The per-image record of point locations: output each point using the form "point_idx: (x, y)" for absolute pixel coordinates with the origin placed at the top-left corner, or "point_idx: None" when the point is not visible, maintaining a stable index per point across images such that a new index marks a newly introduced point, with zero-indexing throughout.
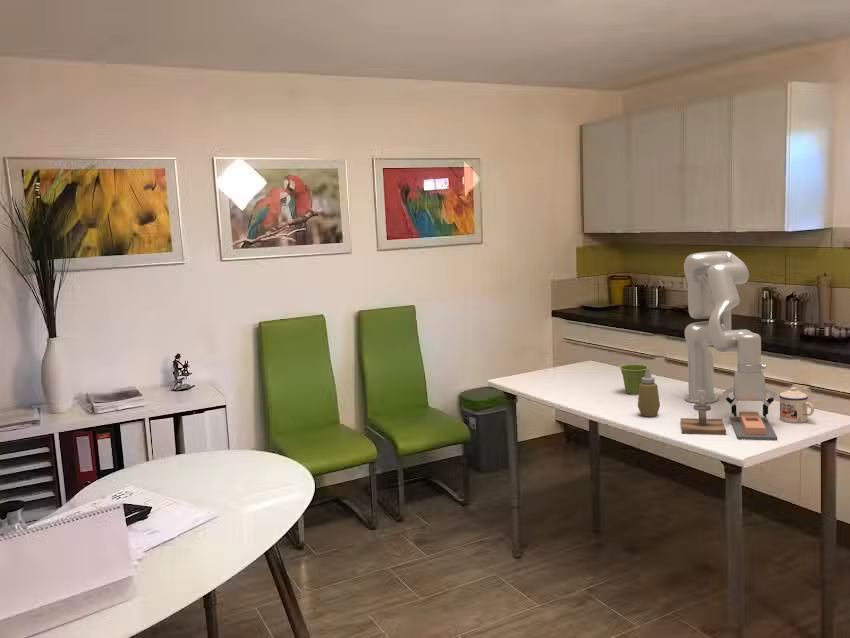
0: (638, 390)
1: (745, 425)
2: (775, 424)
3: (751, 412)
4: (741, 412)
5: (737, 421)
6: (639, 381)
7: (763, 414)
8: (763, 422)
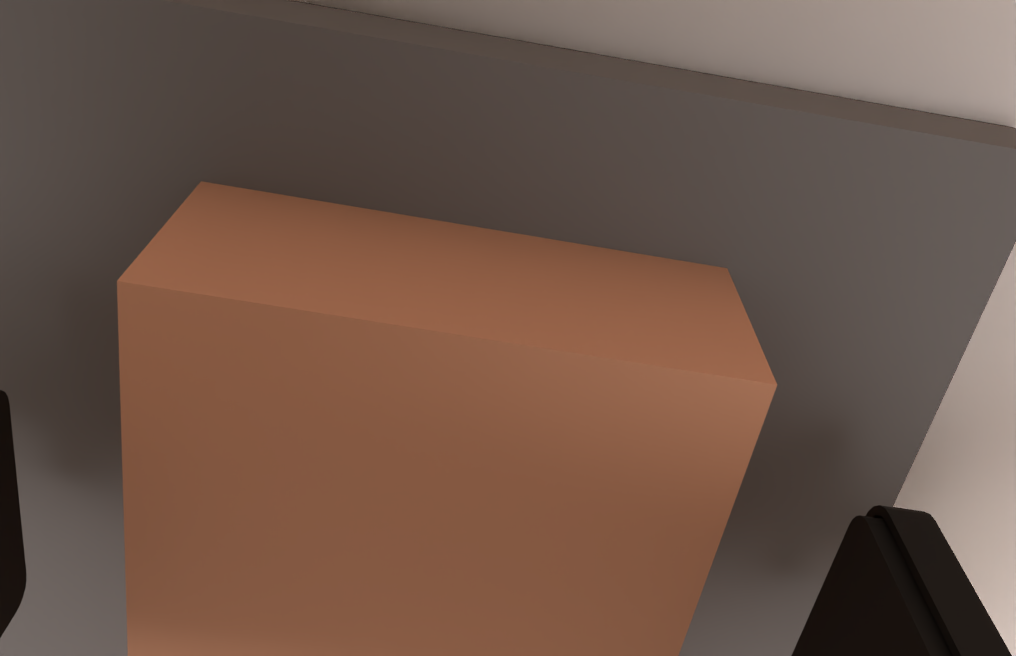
0: None
1: None
2: (1002, 506)
3: (534, 447)
4: (189, 417)
5: (120, 471)
6: None
7: (825, 637)
8: (720, 594)
